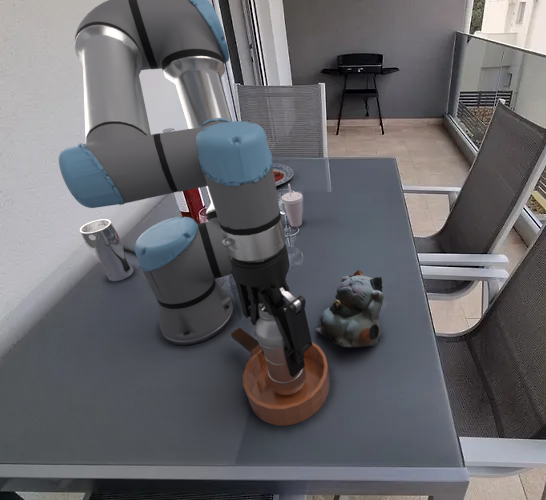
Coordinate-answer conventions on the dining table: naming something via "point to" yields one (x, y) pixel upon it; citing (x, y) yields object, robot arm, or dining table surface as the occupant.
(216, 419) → the dining table surface
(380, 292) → the lucky cat figurine
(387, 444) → the dining table surface
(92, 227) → the silver metal cup
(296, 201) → the smoothie
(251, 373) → the pan
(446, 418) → the dining table surface
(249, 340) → the pan handle
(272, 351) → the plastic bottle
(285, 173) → the ceramic plate
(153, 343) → the dining table surface
